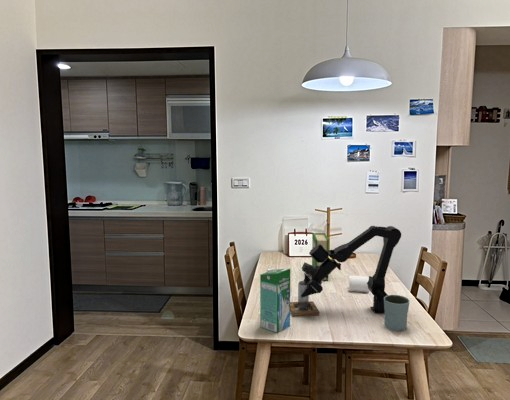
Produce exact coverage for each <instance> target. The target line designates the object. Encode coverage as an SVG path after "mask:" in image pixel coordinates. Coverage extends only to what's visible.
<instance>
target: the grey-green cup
mask: <svg viewBox="0 0 510 400" xmlns="http://www.w3.org/2000/svg"><path fill="white" fill-rule="evenodd" d="M409 306H410V299H409V298H408V297H406V296H403V295H400V294H399V295H398V294H388V295H387V296H385V297H384V309H385V313H384V327H385V326H386V327H385V328H387V329H389V330H390V329H391V330H390V331H396V332H402V331H401V330H403V331H405V330H406V329H407V324H408V314H409ZM404 329H405V330H404Z"/></svg>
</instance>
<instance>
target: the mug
mask: <svg viewBox="0 0 510 400" xmlns="http://www.w3.org/2000/svg"><path fill="white" fill-rule="evenodd" d="M368 281H369V276H365V275H349V277H348V291H349V292H360V293H369V292H370V290H369V289H368V285H367V282H368Z"/></svg>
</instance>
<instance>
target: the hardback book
mask: <svg viewBox="0 0 510 400" xmlns="http://www.w3.org/2000/svg"><path fill="white" fill-rule="evenodd" d="M311 235H312V237H311V238H312V239H311V240H312V241H311V242H312V243H311V245H312V248H311V250H312V249H313V248H314V247H316V246H317V245H319V244H321V245H322V246H323V248H324V249H325V250H326V251H327V250H330V240H329V237H328V235H327V234H326V233H325V232H312V234H311ZM328 257H329V256H328ZM329 258H330V257H329ZM322 263H323V262H322ZM322 263H320V262H319V263H318V262H317V261H316V260H315V259H314V258H313V257H312V256H311V265H312V266H314V267H316V266H320V265H321V264H322ZM323 281H325V282H329V277H328V278H325V279H324V280H323Z"/></svg>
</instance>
